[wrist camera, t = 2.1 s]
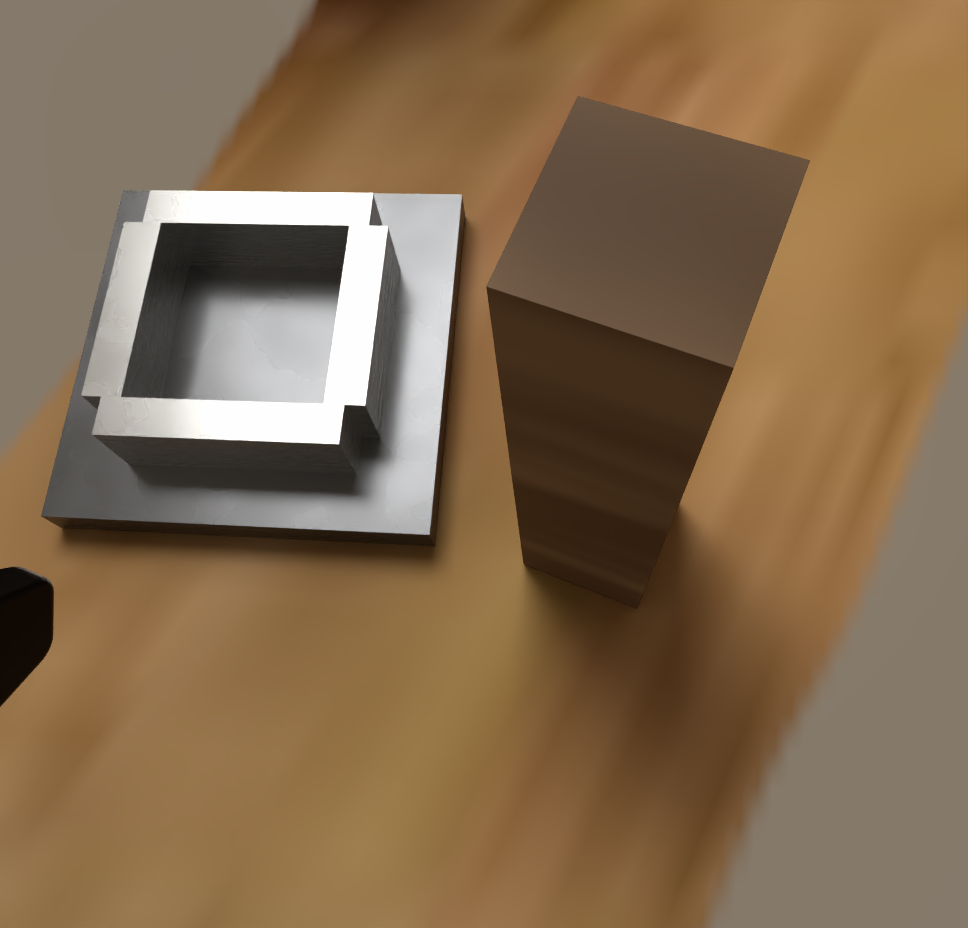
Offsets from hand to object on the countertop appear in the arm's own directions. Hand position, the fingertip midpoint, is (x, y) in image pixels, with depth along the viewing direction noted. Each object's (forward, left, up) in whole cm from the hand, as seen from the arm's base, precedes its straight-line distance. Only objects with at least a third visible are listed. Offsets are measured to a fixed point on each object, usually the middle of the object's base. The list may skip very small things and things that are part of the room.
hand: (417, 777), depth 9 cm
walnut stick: (+6, +2, -13) cm, 14 cm away
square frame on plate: (+4, +12, -13) cm, 18 cm away
